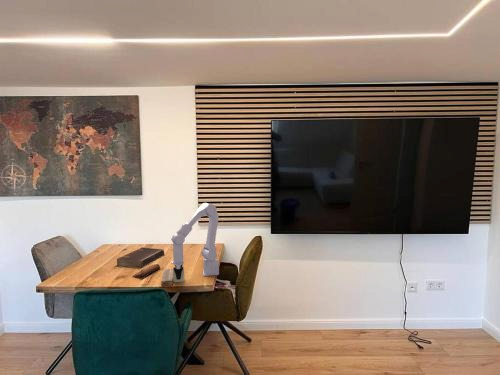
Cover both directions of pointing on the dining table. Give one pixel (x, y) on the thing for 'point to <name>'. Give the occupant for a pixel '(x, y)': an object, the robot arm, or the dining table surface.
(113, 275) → the dining table surface
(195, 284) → the dining table surface
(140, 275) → the sunglasses case
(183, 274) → the block
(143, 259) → the hardback book
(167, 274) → the tan rectangular bar
